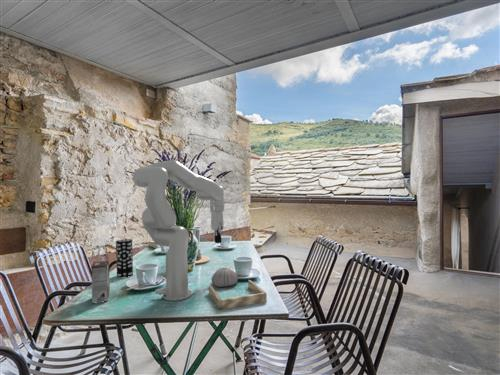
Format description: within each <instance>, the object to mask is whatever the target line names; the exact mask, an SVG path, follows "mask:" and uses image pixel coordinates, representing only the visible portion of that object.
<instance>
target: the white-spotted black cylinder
mask: <svg viewBox="0 0 500 375" xmlns="http://www.w3.org/2000/svg"><path fill="white" fill-rule="evenodd" d="M115 246H116V248H115V249H116V250H115V253H116V255H115V256H116V259H115V260H116V278H117V277H127V278H129V277H128V276H131V275H132V276H134V265H133V262H134V261H133V258H134V257H133V239H131V238H126V239H125V238H124V239H118V240H115ZM132 276H131V277H132Z"/></svg>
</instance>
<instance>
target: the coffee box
mask: <svg viewBox="0 0 500 375" xmlns="http://www.w3.org/2000/svg"><path fill="white" fill-rule="evenodd" d="M90 268H91V304H92V303H95V302H102V301H108V302H109V300H108V299H110V296H109V295H111V293H110V292H111V289H110V288H111V285H110V284H111V283H110V281H111V280H110V260H99V261H94V262H93V263H92V265H91V267H90Z"/></svg>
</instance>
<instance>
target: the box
mask: <svg viewBox="0 0 500 375" xmlns="http://www.w3.org/2000/svg"><path fill="white" fill-rule="evenodd" d="M247 280H248V281H247V284H248V285H247V287H248V289H249V290H250V291H251V292H252V293H253V294H252V293H251V294H247V295H240V296H233V297H228V298H221V296H219V294H218V293H217V291H216V289H214V287H213V286H212V285H208V294H209V296H210V297H211V299H212V301H213V302H214V304H215V305H216V307H217V308H218V309H219V310H226V309H231V308H238V307H243V306H248V305H254V304H260V303H267V301H268V299H267V298H268V297H267V294H268V293H267V292H266V291H265V290H263V289H262V288H261V287H260V286H258V285H257V284H256V283H255V282H253V281H252V280H251V279H247Z"/></svg>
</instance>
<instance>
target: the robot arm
mask: <svg viewBox="0 0 500 375" xmlns="http://www.w3.org/2000/svg"><path fill="white" fill-rule="evenodd" d="M169 180H171V181H173V182H174V183H176V184H177V185H179V186H181V187H182V188H184V189H185V190H188V191H192V192H193V191H194V192H195V195H196V197H197V199H198V200H200V201H206V202H207V201H208V202H209V208H210V209H209V212H210V228H211V230H213V231H214V243H215V244H220V243H222V231H223V230H224V213H223V212H225V201H224V200H225V198H224V196H225V195H224V194H225V193H224V187H223V186H221V185H219V184H218V183H217V182H215V181H214V180H212V179H209V178H207V177H204V176H202V175H199V174H196V173H195V172H193V171H192V170H191V169H189V168H188V167H187V166H184V165H183V164H182V163H181V162H179V161H178V160H164V161H163V160H162V161H158V162H155V163H151V164H149V165H145V166H141V167H138V168H137V169H135V170H134V172H133V174H132V182H133V184H134V185H136V186H137V187H139V188H146V190H145V194H144V204H145V206H146V208H145V209H144V210H143V211H142V214H141V222H142V225H143V226H144V229H145V230H146V233H148V235H149V237H150V238H151V240H152V241H153V242H154V243H155V244H156V245H157V246H162V247H163V246H164V247H168V249H167V251H166V253H165V285H164V287H162V288H157V289H155V294H156V295H157V294H158V295H159V296H160V295H161V296H162V298H163V300H165V301H169V302H170V301H171V302H176V301H184V300H186V299H189V298H191V296H192V294H193V292H192V290H190V289H189V281H188V280H189V278H188V276H189V275H188V274H189V272H188V269H189V268H188V249H189V248H188V246H189V240H190V234H189V231H188V229H186V227H184V226H182V225H181V226H180V225H176V223H177V216H176V214H175V211H174V210H173V208H172V206H171V205H170V203H169V200H168V199H167V196H166V186H167V184H168V181H169Z"/></svg>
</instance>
